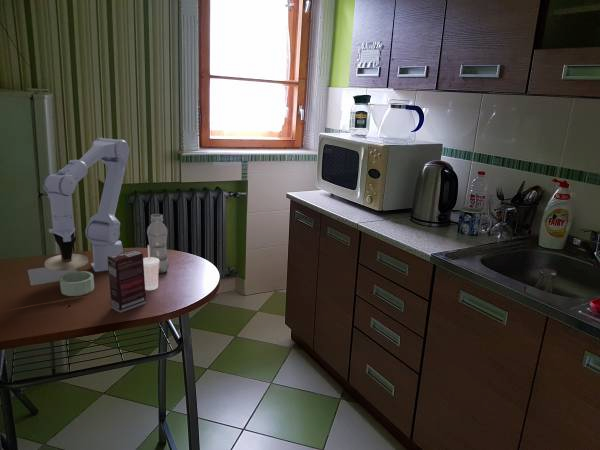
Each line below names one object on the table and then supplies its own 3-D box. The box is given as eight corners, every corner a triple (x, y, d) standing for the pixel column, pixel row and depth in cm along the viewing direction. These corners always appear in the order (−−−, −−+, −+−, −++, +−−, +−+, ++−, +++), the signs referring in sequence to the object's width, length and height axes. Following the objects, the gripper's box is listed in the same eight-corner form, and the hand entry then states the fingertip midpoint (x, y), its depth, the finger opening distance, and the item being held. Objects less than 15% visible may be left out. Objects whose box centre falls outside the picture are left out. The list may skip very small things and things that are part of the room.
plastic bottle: (166, 276, 157) (164, 218, 151) (146, 274, 157) (143, 217, 151) (171, 268, 163) (169, 213, 157) (152, 267, 163) (149, 212, 158)
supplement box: (137, 298, 140) (134, 248, 136) (146, 303, 137) (144, 253, 133) (110, 308, 134) (106, 255, 129) (119, 313, 131) (115, 260, 126)
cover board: (85, 254, 152) (84, 241, 151) (90, 267, 142) (89, 253, 141) (43, 259, 146) (42, 245, 145) (45, 272, 136) (44, 258, 135)
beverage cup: (160, 282, 152) (158, 241, 148) (160, 290, 146) (159, 248, 142) (140, 284, 150) (138, 242, 146) (140, 292, 145) (137, 249, 140)
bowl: (91, 282, 149) (90, 269, 148) (96, 293, 142) (95, 279, 141) (59, 287, 145) (58, 274, 143) (63, 299, 137) (61, 285, 136)
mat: (73, 264, 163) (73, 263, 163) (80, 278, 152) (80, 277, 152) (27, 271, 155) (27, 269, 155) (30, 286, 144) (30, 285, 144)
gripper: (45, 209, 144) (49, 251, 148) (49, 222, 132) (54, 267, 136) (70, 207, 147) (74, 248, 151) (77, 219, 136) (81, 263, 139)
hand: (66, 257), depth 144 cm, fingers closed on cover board, 3 cm apart
